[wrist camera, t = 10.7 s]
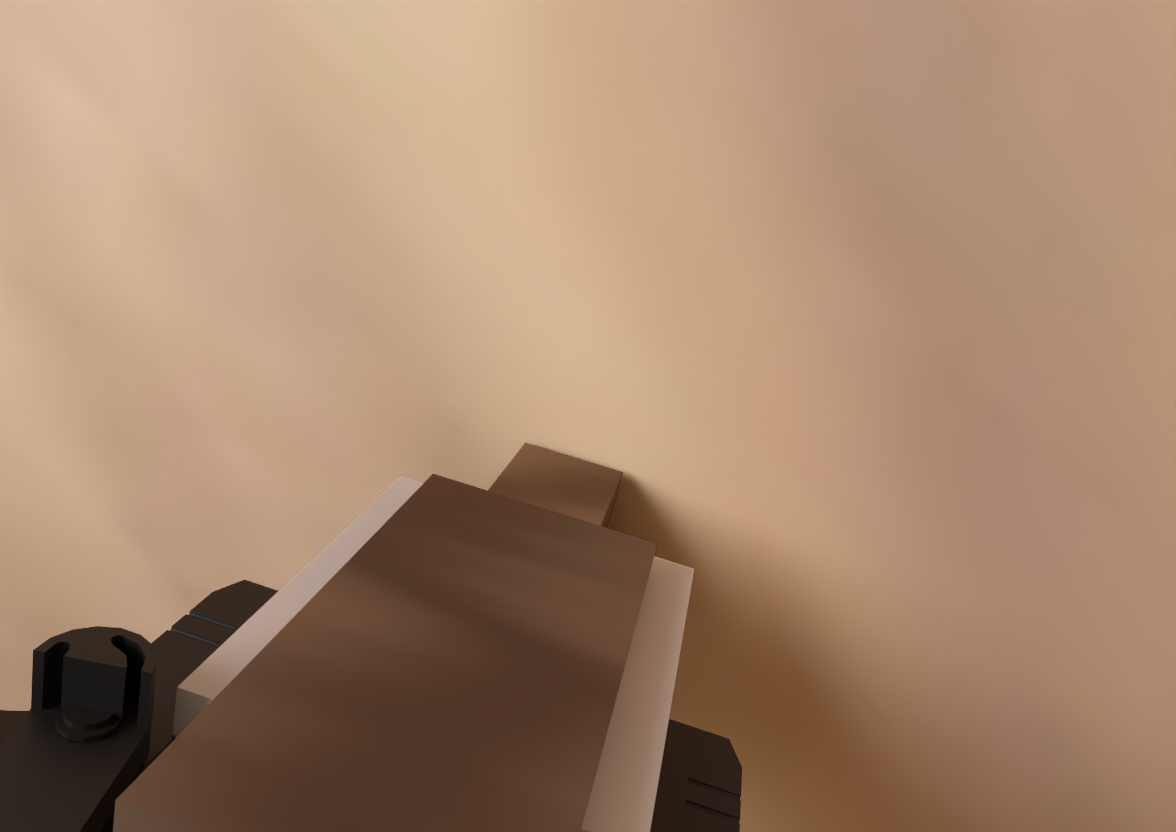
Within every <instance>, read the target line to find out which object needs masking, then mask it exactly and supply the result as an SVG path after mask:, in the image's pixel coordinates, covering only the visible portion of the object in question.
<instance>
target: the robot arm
mask: <svg viewBox="0 0 1176 832" xmlns="http://www.w3.org/2000/svg"><path fill="white" fill-rule="evenodd" d="M423 484H424V483H421V482H418V481H415V480H412V479H409V478H406V477H402V476H399V477H398V478H397V479H396V480H395V481H394V482H393V483H392V484H391V485H390V486H389V487H388V488H387V489H386V490H385V491H383V492H382V493H381V494H380V495H379V496H378V497H377V498H376V499H375V500H374V501H373V502H372V503H371V504H370V505H369V506H368V507H367V508H366V509H364V510H363V511H362V512H361V513H360V514H359V515H358V516H357V517H356V518H355V519H354V520H353V521H352V522H351V523H350V524H349V525H348V526H347V527H345V528H344V529H343V530H342V531H341V532H340V533H339V534H338V535H337V536H336V537H335V538H334V539H333V540H332V541H331V542H330V543H329V544H328V545H326V546H325V547H324V548H323V549H322V550H321V551H320V552H319V553H318V554H317V555H316V556H315V557H314V558H313V559H312V560H311V561H310V562H309V563H308V564H306V565H305V566H304V567H303V568H302V569H301V570H300V571H299V572H298V573H297V574H296V575H295V576H294V577H293V578H292V579H291V580H290V581H289V582H287V583H286V584H285V585H284V586H283V587H282V588H281V589H280V590H279V591H277V590H274V589H271V588H268V587H265V586H262V585H259V584H256V583H253V582H250V581H247V580H243V581H240V582H238V583H235V584H232V585H230V586H227V587H225V588H222V589H219V590H217V591H214V592H212V593H211V594H210V595H209V596H207V597H206V598H205V599H204V600H203V601H201V602H200V603H199V604H198V605H197V606H196V607H194V608H193V609H192V610H191V611H190V613H189V615H185V616H184V617H182V618H181V619H180V620H179V621H178V622H176V623H175V624H174V625H173V626H172V628H171V630H170V631H168V630H167V631H166V632H164V633H163V634H162V635H161V636H160V637H159V638H157V639H156V640H155V641H154V642H153V643H150V642H148V641H147V640H146V639H145V638H144V637H142V636H141V635H139V634H136V633H133V632H131V631H128V630H125V629H122V628H111V627H98V626H97V627H90V628H82V629H75V630H71V631H68V632H65V633H63V634H60V635H57V636H54V637H52V638H50V639H48V640H47V641H45V642H44V643H43V644H41V645H40V646H38V647H37V648H36V649H34V650H33V673H32V701H31V709H30V711H5V710H0V832H113V823H114V810H115V800H116V799H117V798H118V797H119V796H120V795H121V794H122V793H123V792H124V791H125V790H126V789H127V788H128V787H129V786H130V785H131V784H132V783H133V782H134V781H135V780H136V779H137V778H138V777H139V775H140V774H141V773H142V772H143V771H144V770H145V769H146V768H147V767H148V766H149V765H150V764H151V763H152V762H153V761H154V760H155V759H156V758H157V757H158V756H159V755H160V754H161V753H162V752H163V751H164V750H165V749H166V748H167V747H168V746H169V745H170V744H171V743H172V742H173V741H174V740H175V738H176V737H177V736H178V735H179V734H180V733H181V732H182V731H183V730H184V729H185V728H186V727H187V726H188V725H189V724H190V723H191V722H192V721H193V720H194V719H195V718H196V717H197V716H198V715H199V714H200V713H201V712H202V711H203V710H204V709H205V708H206V707H207V706H208V705H209V704H210V703H211V701H212V700H213V699H214V698H215V697H216V696H217V695H218V694H219V693H220V692H221V691H222V690H223V689H224V688H225V687H226V686H227V685H228V684H229V683H230V682H231V681H232V680H233V679H234V678H235V677H236V676H237V675H238V674H239V673H240V672H241V671H242V670H243V669H244V668H245V667H246V665H247V664H248V663H249V662H250V661H251V660H252V659H253V658H254V657H255V656H256V655H257V654H258V653H259V652H260V651H261V650H262V649H263V648H264V647H265V646H266V645H267V644H268V643H269V642H270V641H271V640H272V639H273V638H274V637H275V636H276V635H277V634H278V633H279V632H280V631H281V630H282V628H283V627H284V626H285V625H286V624H287V623H288V622H289V621H290V620H291V619H292V618H293V617H294V616H295V615H296V614H297V613H298V612H299V611H300V610H301V609H302V608H303V607H304V606H305V605H306V604H307V603H308V602H309V601H310V600H311V599H312V598H313V597H314V596H315V595H316V594H317V592H318V591H319V590H320V589H321V588H322V587H323V586H324V585H325V584H326V583H327V582H328V581H329V580H330V579H331V578H332V577H333V576H334V575H335V574H336V573H337V572H338V571H339V570H340V569H341V568H342V567H343V566H344V565H345V564H346V563H347V562H348V561H349V560H350V559H351V558H352V557H353V555H354V554H355V553H356V552H357V551H358V550H359V549H360V548H361V547H362V546H363V545H364V544H365V543H366V542H367V541H368V540H369V539H370V538H371V537H372V536H373V535H374V534H375V533H376V532H377V531H378V530H379V529H380V528H381V527H382V526H383V525H384V524H385V523H386V522H387V521H388V519H389V518H390V517H391V516H392V515H393V514H394V513H395V512H396V511H397V510H398V509H399V508H400V507H401V506H402V505H403V504H404V503H405V502H406V501H407V500H408V499H409V498H410V497H411V496H412V495H413V494H414V493H415V492H416V491H417V490H418V489H419V488H420V487H421V486H422V485H423ZM693 574H694V568H691V567H687V566H684V565H681V564H678V563H675V562H672V561H668V560H665V559H662V558H659V557H656V556H654V559H653V563H652V566H651V570H650V574H649V578H648V581H647V585H646V589H645V593H644V596H643V600H642V604H641V608H640V611H639V615H638V619H637V623H636V626H635V630H634V634H633V638H632V641H631V645H630V649H629V653H628V656H627V660H626V664H625V668H624V671H623V675H622V679H621V683H620V686H619V690H618V694H617V698H616V701H615V705H614V709H613V713H612V716H611V720H610V724H609V728H608V731H607V735H606V739H605V743H604V746H603V750H602V754H601V758H600V761H599V765H598V769H597V773H596V776H595V780H594V784H593V788H592V791H591V795H590V799H589V803H588V806H587V810H586V814H585V818H584V821H583V825H582V829H581V832H739V828H740V824H739V819H740V804H741V801H740V796H741V780H742V767H741V764H740V762H739V760H738V758H737V755H736V753H735V751H734V749H733V747H732V744H731V742H730V740H729V739H727V738H724V737H721V736H718V735H715V734H712V733H709V732H706V731H703V730H700V729H697V728H694V727H691V726H688V725H685V724H682V723H679V722H676V721H673V720H670V719H669V716H670V710H671V704H672V698H673V692H674V686H675V681H676V675H677V669H678V663H679V657H680V651H681V645H682V639H683V633H684V627H685V621H686V615H687V610H688V604H689V598H690V592H691V586H692V580H693Z"/></svg>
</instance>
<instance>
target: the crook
mask: <svg viewBox="0 0 1176 832" xmlns="http://www.w3.org/2000/svg"><path fill="white" fill-rule="evenodd" d="M622 474H623V472H619V471H616V470H613V469H610V468H606V467H603V466H600V465H596V464H593V463H590V462H587V461H583V460H580V459H577V458H573V457H570V456H567V455H563V454H560V453H557V452H554V451H550V450H547V449H544V448H540V447H537V446H534V445H531V444H527V443H525V444H524V445H523V446H522V448H521V449H520V450H519V452H518V453H517V454H516V455H515V457H514V458H513V459H512V461H511V462H510V463H509V464H508V466H507V467H506V468H505V470H504V471H503V472H502V473H501V475H500V476H499V477H498V479H497V480H496V481H495V483H494V484H493V485H492V486H491V488H490V489H489V490H488V491H487V490H484V489H480V488H477V487H474V486H471V485H468V484H464V483H461V482H458V481H455V480H451V479H448V478H445V477H442V476H439V475H435V474H432V475H431V476H430V477H429V478H428V479H427V480H426V481H425V482H424V484H423V485H422V486H421V487H420V488H419V489H418V490H417V491H416V492H415V493H414V494H413V495H412V496H411V497H410V498H409V499H408V500H407V501H406V502H405V503H404V504H403V505H402V506H401V507H400V508H399V509H398V510H397V511H396V512H395V513H394V514H393V515H392V516H391V517H390V518H389V519H388V521H387V522H386V523H385V524H384V525H383V526H382V527H381V528H380V529H379V530H378V531H377V532H376V533H375V534H374V535H373V536H372V537H371V538H370V539H369V540H368V541H367V542H366V543H365V544H364V545H363V546H362V547H361V548H360V549H359V550H358V551H357V552H356V553H355V554H354V555H353V557H352V558H351V559H350V560H349V561H348V562H347V563H346V564H345V565H344V566H343V567H342V568H341V569H340V570H339V571H338V572H337V573H336V574H335V575H334V576H333V577H332V578H331V579H330V580H329V581H328V582H327V583H326V584H325V585H324V586H323V587H322V588H321V589H320V590H319V591H318V592H317V594H316V595H315V596H314V597H313V598H312V599H311V600H310V601H309V602H308V603H307V604H306V605H305V606H304V607H303V608H302V609H301V610H300V611H299V612H298V613H297V614H296V615H295V616H294V617H293V618H292V619H291V620H290V621H289V622H288V623H287V624H286V625H285V626H284V627H283V628H282V630H281V631H280V632H279V633H278V634H277V635H276V636H275V637H274V638H273V639H272V640H271V641H270V642H269V643H268V644H267V645H266V646H265V647H264V648H263V649H262V650H261V651H260V652H259V653H258V654H257V655H256V656H255V657H254V658H253V659H252V660H251V661H250V662H249V663H248V664H247V665H246V667H245V668H244V669H243V670H242V671H241V672H240V673H239V674H238V675H237V676H236V677H235V678H234V679H233V680H232V681H231V682H230V683H229V684H228V685H227V686H226V687H225V688H224V689H223V690H222V691H221V692H220V693H219V694H218V695H217V696H216V697H215V698H214V699H213V700H212V701H211V703H210V704H209V705H208V706H207V707H206V708H205V709H204V710H203V711H202V712H201V713H200V714H199V715H198V716H197V717H196V718H195V719H194V720H193V721H192V722H191V723H190V724H189V725H188V726H187V727H186V728H185V729H184V730H183V731H182V732H181V733H180V734H179V735H178V736H177V737H176V738H175V740H174V741H173V742H172V743H171V744H170V745H169V746H168V747H167V748H166V749H165V750H164V751H163V752H162V753H161V754H160V755H159V756H158V757H157V758H156V759H155V760H154V761H153V762H152V763H151V764H150V765H149V766H148V767H147V768H146V769H145V770H144V771H143V772H142V773H141V774H140V775H139V777H138V778H137V779H136V780H135V781H134V782H133V783H132V784H131V785H130V786H129V787H128V788H127V789H126V790H125V791H124V792H123V793H122V794H121V795H120V796H119V797H118V798H117V799H116V800H115V810H114V823H113V832H581V829H582V825H583V821H584V818H585V814H586V810H587V806H588V803H589V799H590V795H591V791H592V788H593V784H594V780H595V776H596V773H597V769H598V765H599V761H600V758H601V754H602V750H603V746H604V743H605V739H606V735H607V731H608V728H609V724H610V720H611V716H612V713H613V709H614V705H615V701H616V698H617V694H618V690H619V686H620V683H621V679H622V675H623V671H624V668H625V664H626V660H627V656H628V653H629V649H630V645H631V641H632V638H633V634H634V630H635V626H636V623H637V619H638V615H639V611H640V608H641V604H642V600H643V596H644V593H645V589H646V585H647V581H648V578H649V574H650V570H651V566H652V563H653V559H654V555H655V551H656V548H657V543H654V542H651V541H648V540H644V539H641V538H638V537H635V536H632V535H628V534H625V533H622V532H619V531H615V530H612V529H609V528H607V527H608V524H609V520H610V517H611V513H612V509H613V506H614V502H615V499H616V495H617V492H618V488H619V484H620V481H621V477H622Z"/></svg>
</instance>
